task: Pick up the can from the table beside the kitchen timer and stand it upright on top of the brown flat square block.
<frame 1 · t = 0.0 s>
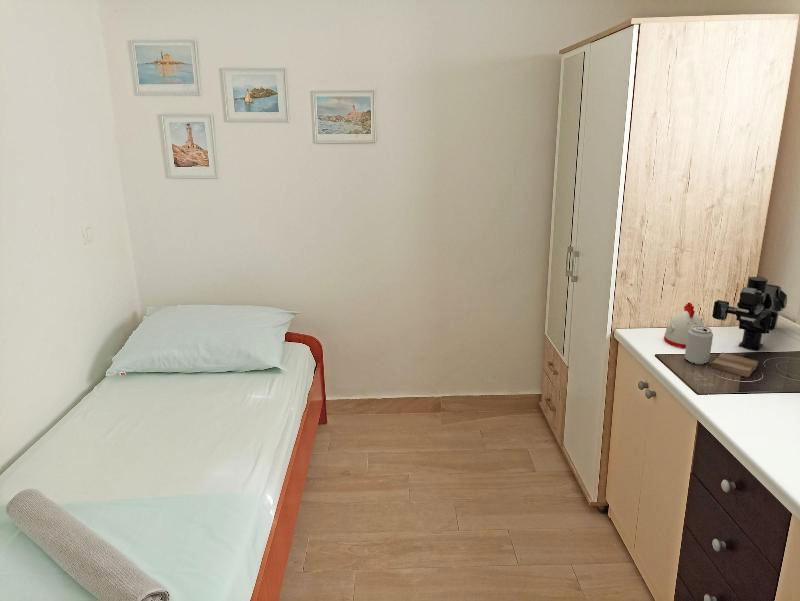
hand: (736, 321, 193), 17 cm above the counter, tool horizontal, fingers open, 9 cm apart
can: (696, 361, 204), on the counter
brown flat square block: (734, 368, 199), on the counter
kitchen timer: (684, 342, 220), on the counter
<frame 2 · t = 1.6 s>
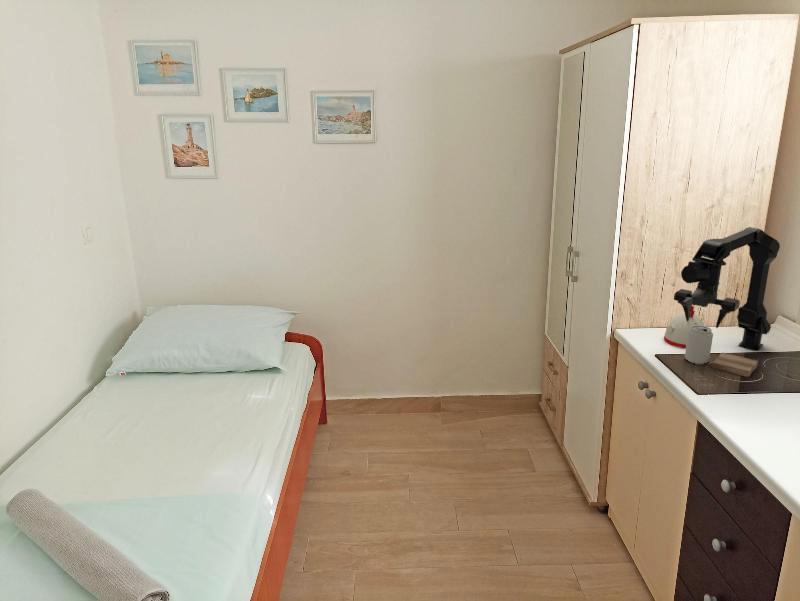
hand: (702, 324, 200), 13 cm above the counter, tool pointing down, fingers open, 9 cm apart
nothing on the counter moved.
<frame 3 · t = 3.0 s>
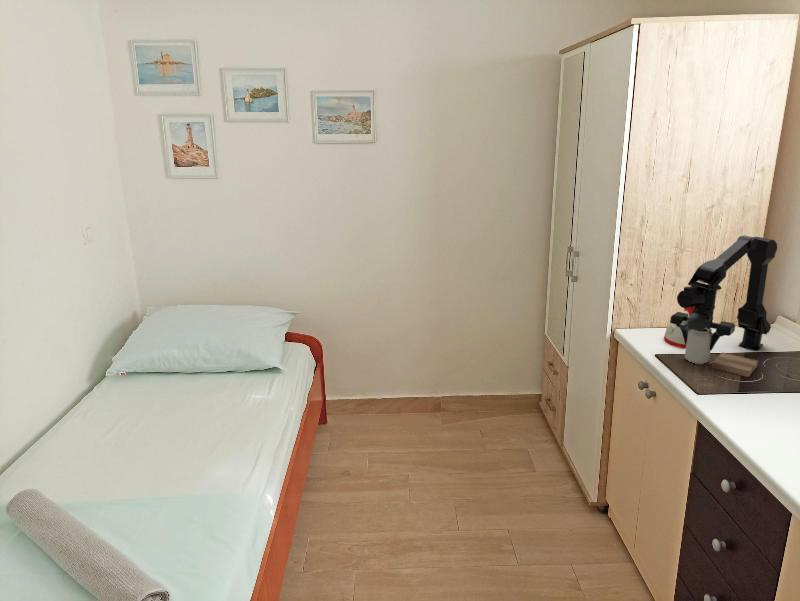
hand: (698, 347, 202), 5 cm above the counter, tool pointing down, fingers closed on can, 7 cm apart
can: (696, 361, 204), on the counter, touching gripper
everything else where it was.
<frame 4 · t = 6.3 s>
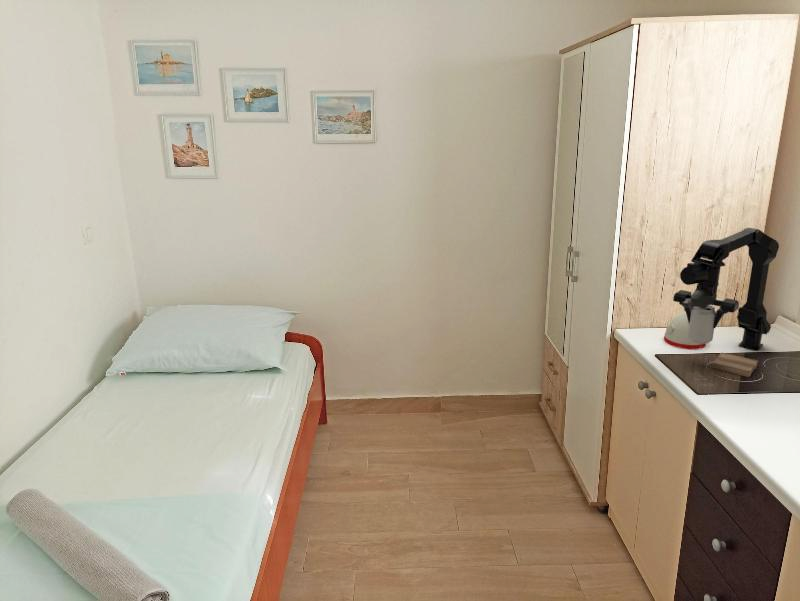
hand: (701, 325, 200), 13 cm above the counter, tool pointing down, fingers closed on can, 7 cm apart
can: (699, 341, 202), point 7 cm above the counter, touching gripper
everything else where it was.
when the fingers open (8 cm above the counter, at t = 9.7 s): can moves 1 cm, resting on brown flat square block.
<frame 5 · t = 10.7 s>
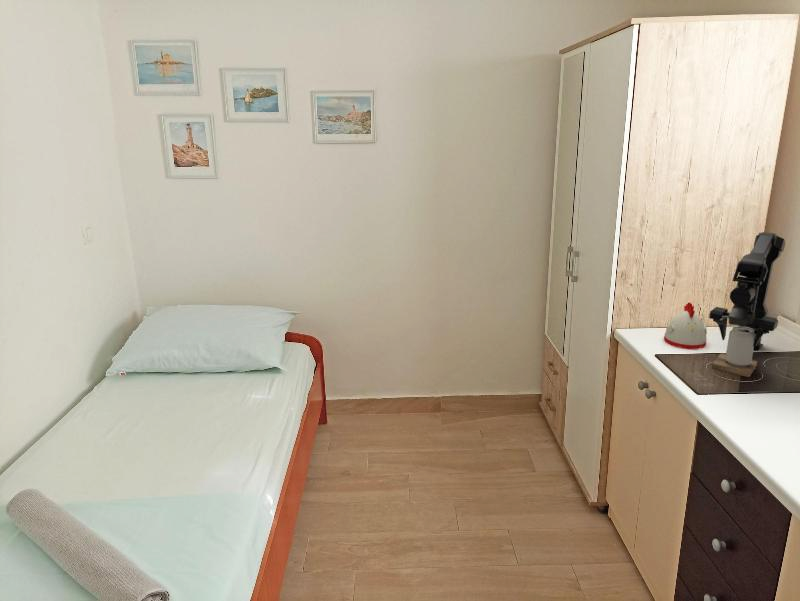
hand: (738, 343, 196), 9 cm above the counter, tool pointing down, fingers open, 9 cm apart
can: (737, 363, 198), point 2 cm above the counter, touching gripper, brown flat square block
brown flat square block: (734, 369, 199), on the counter, touching can
everything else where it was.
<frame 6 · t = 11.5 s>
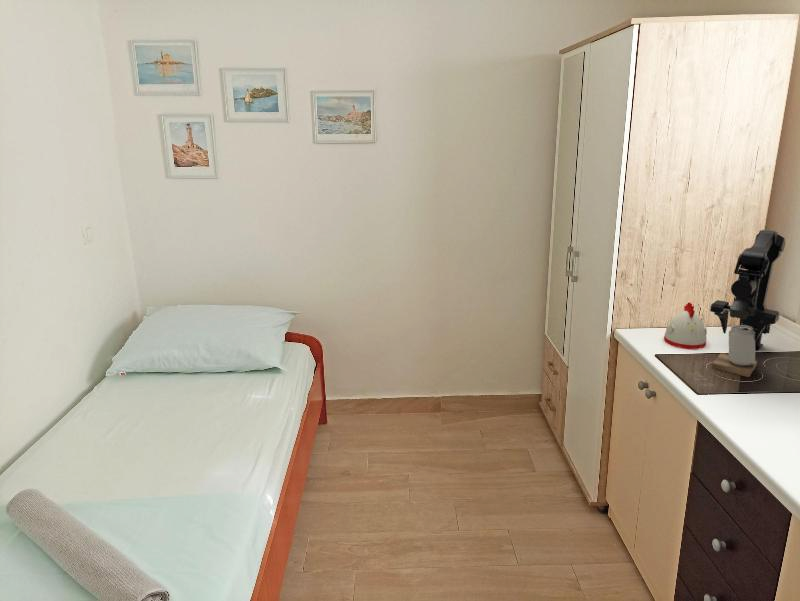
hand: (739, 336, 195), 11 cm above the counter, tool pointing down, fingers open, 9 cm apart
can: (741, 363, 197), point 2 cm above the counter, touching gripper, brown flat square block
everything else where it was.
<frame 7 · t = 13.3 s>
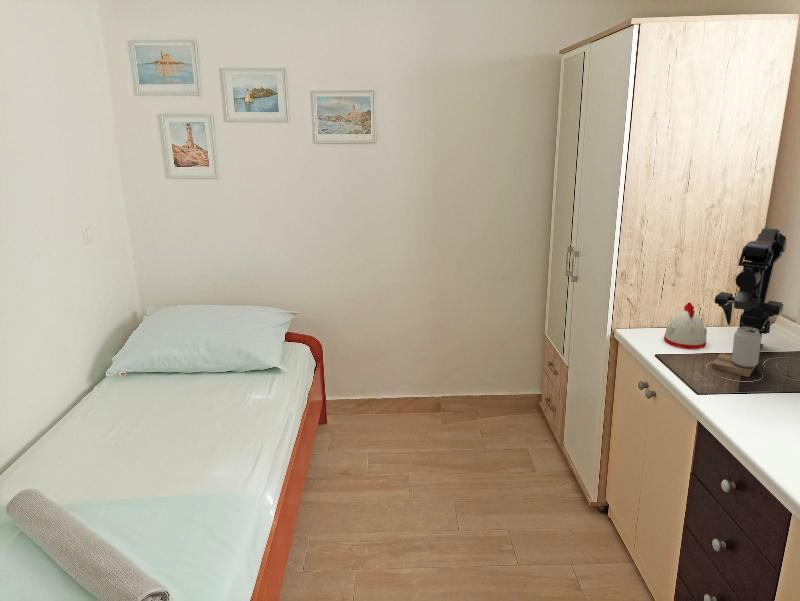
hand: (743, 327, 197), 13 cm above the counter, tool pointing down, fingers open, 9 cm apart
can: (744, 364, 196), point 2 cm above the counter, touching brown flat square block
everything else where it was.
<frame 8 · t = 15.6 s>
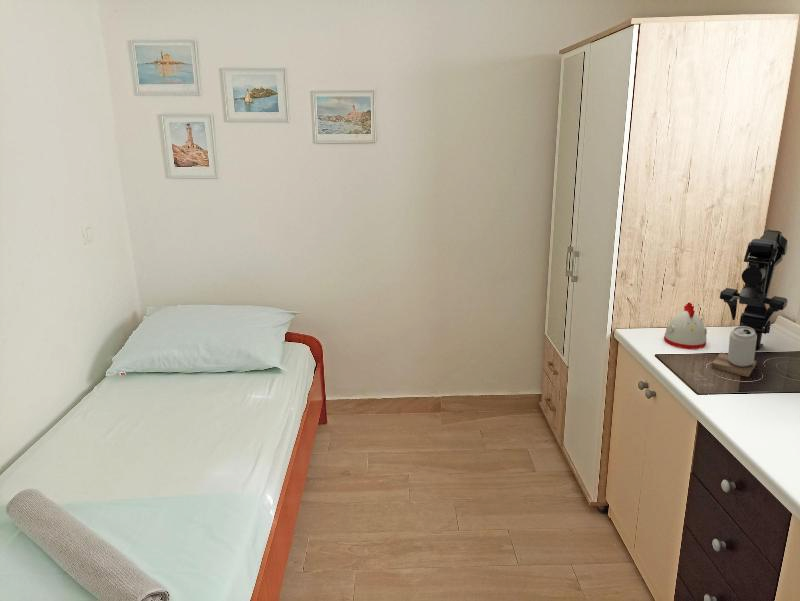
hand: (748, 323, 201), 13 cm above the counter, tool pointing down, fingers open, 9 cm apart
can: (740, 361, 197), point 3 cm above the counter, touching brown flat square block
everything else where it was.
at the end: can 1.6 cm off-centre on the brown flat square block, point 2.8 cm above the brown flat square block's base; can tilted 8°; the gripper is holding nothing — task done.
